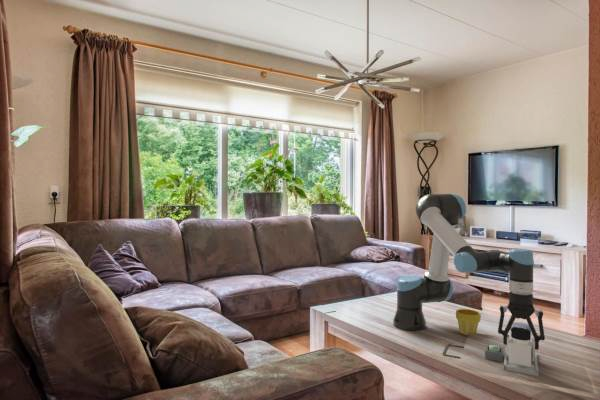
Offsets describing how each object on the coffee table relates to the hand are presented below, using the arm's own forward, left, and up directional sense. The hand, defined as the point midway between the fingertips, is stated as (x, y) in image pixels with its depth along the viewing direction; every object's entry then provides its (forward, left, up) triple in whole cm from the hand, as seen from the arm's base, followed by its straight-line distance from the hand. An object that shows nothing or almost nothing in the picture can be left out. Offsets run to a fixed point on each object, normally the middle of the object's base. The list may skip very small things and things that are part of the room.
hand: (520, 355), depth 141 cm
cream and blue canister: (0, +10, -4) cm, 11 cm away
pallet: (-3, +5, -5) cm, 8 cm away
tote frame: (-21, +7, -5) cm, 22 cm away
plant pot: (-21, +32, -5) cm, 38 cm away
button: (-9, +5, -3) cm, 10 cm away
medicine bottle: (0, 0, -2) cm, 2 cm away
